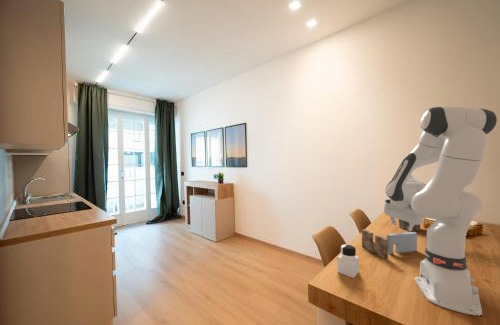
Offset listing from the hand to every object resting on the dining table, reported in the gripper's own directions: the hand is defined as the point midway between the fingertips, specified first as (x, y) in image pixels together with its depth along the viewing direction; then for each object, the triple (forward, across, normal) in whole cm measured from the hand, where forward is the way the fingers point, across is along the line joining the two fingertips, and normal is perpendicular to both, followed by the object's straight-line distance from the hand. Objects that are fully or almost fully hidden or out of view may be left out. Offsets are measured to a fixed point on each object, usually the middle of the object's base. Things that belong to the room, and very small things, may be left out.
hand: (401, 227), depth 116 cm
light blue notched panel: (+13, -1, 0) cm, 13 cm away
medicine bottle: (+13, -13, +43) cm, 47 cm away
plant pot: (+14, +30, -41) cm, 53 cm away
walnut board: (+13, +2, +16) cm, 21 cm away
